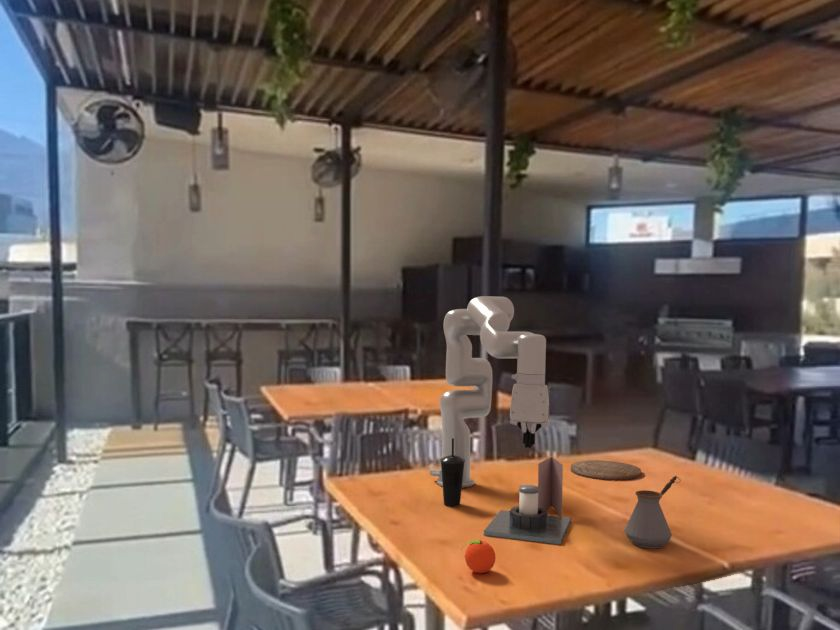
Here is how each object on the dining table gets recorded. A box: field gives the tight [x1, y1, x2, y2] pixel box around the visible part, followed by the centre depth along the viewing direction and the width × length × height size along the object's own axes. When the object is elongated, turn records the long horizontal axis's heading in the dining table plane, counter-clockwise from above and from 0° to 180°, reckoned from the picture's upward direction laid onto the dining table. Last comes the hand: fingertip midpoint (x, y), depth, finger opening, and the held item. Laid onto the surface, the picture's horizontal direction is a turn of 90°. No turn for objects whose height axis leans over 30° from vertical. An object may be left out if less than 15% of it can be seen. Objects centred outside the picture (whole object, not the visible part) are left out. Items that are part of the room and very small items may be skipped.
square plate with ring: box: [483, 505, 572, 546], centre depth 190 cm, size 20×20×5 cm
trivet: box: [570, 459, 642, 482], centre depth 257 cm, size 25×25×2 cm
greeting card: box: [537, 456, 564, 517], centre depth 206 cm, size 11×7×15 cm, turn 150°
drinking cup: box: [439, 438, 465, 508], centre depth 212 cm, size 8×8×20 cm
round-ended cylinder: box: [518, 484, 539, 515], centre depth 190 cm, size 5×5×10 cm
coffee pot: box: [624, 475, 682, 549], centre depth 183 cm, size 21×12×15 cm, turn 134°
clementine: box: [461, 540, 497, 574], centre depth 159 cm, size 8×7×7 cm
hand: (528, 446), depth 191 cm, fingers closed
